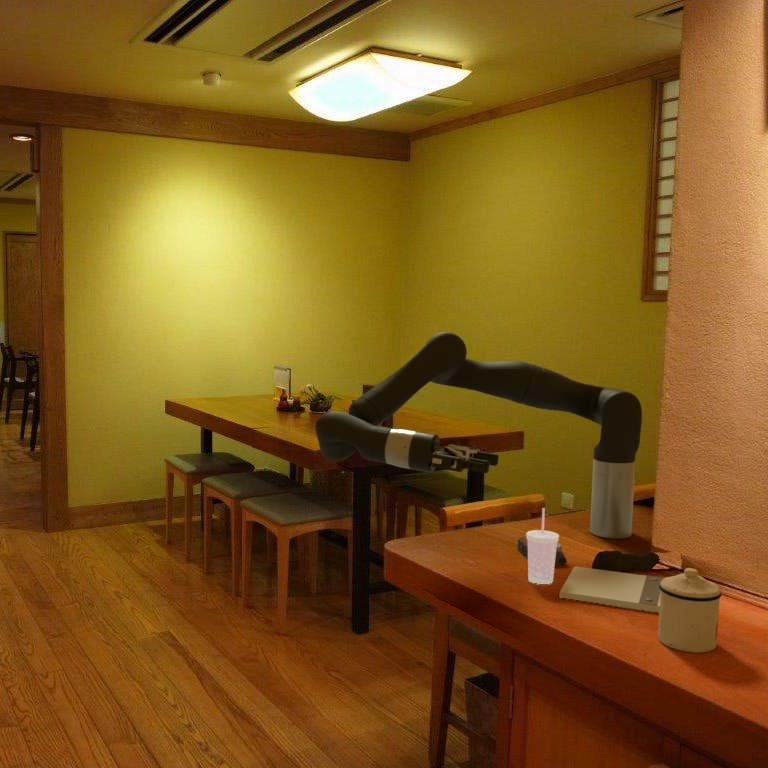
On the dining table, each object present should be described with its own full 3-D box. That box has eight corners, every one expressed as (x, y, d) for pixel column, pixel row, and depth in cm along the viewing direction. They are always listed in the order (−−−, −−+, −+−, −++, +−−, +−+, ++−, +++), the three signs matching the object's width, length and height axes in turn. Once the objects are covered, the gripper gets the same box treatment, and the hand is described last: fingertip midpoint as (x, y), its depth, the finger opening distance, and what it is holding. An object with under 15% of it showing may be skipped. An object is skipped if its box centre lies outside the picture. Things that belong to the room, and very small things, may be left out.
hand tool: (672, 566, 170) (673, 544, 169) (683, 572, 166) (684, 549, 165) (585, 571, 166) (586, 548, 165) (594, 577, 162) (595, 554, 161)
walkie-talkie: (576, 568, 168) (544, 540, 188) (577, 546, 168) (545, 520, 187) (534, 568, 167) (506, 540, 186) (535, 547, 166) (506, 521, 186)
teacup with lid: (730, 652, 127) (735, 577, 126) (676, 656, 125) (680, 580, 124) (686, 622, 139) (690, 554, 138) (636, 625, 137) (640, 556, 136)
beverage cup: (543, 588, 154) (546, 513, 153) (517, 579, 159) (520, 507, 157) (563, 581, 158) (567, 509, 157) (537, 573, 163) (540, 502, 161)
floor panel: (574, 572, 164) (574, 564, 164) (705, 590, 155) (705, 582, 155) (559, 598, 149) (559, 590, 149) (703, 619, 140) (704, 611, 140)
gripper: (403, 435, 157) (488, 449, 152) (424, 426, 170) (503, 439, 165) (399, 474, 157) (483, 490, 152) (420, 463, 171) (498, 476, 166)
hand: (493, 463), depth 159 cm, fingers open, 8 cm apart
